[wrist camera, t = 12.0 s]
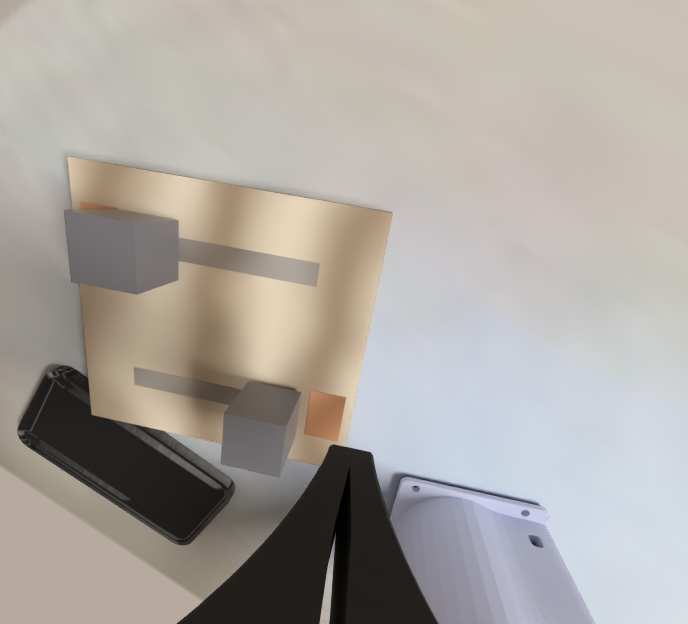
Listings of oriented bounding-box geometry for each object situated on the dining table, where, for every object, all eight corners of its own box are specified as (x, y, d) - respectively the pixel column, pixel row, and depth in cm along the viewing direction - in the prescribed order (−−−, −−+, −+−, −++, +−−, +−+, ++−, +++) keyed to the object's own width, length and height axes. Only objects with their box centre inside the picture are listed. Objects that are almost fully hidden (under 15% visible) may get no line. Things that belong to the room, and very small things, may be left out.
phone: (50, 364, 22) (236, 494, 23) (66, 357, 23) (243, 481, 24) (12, 438, 24) (183, 551, 26) (28, 428, 25) (191, 537, 27)
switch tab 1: (178, 220, 16) (134, 223, 13) (178, 280, 17) (137, 294, 14) (120, 209, 16) (64, 209, 13) (123, 269, 17) (71, 281, 14)
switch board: (391, 212, 17) (392, 213, 15) (344, 447, 22) (340, 470, 20) (100, 162, 18) (66, 156, 16) (115, 397, 23) (91, 415, 21)
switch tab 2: (301, 392, 18) (286, 426, 15) (295, 436, 19) (279, 477, 16) (248, 381, 18) (223, 413, 15) (245, 426, 19) (220, 464, 16)
